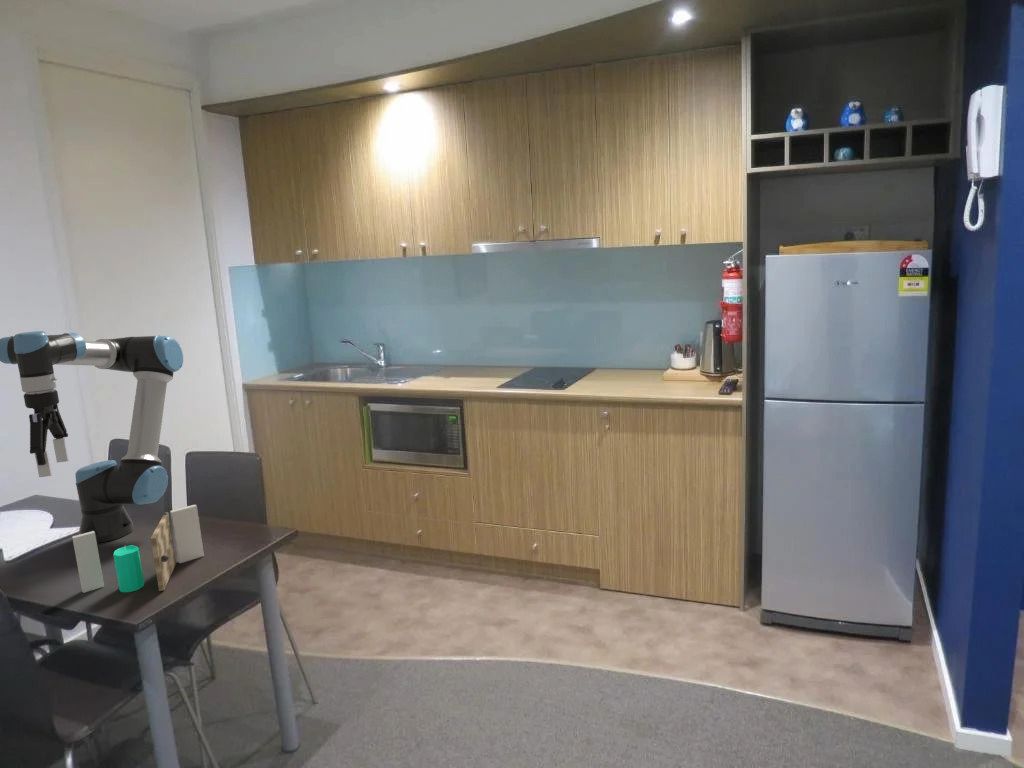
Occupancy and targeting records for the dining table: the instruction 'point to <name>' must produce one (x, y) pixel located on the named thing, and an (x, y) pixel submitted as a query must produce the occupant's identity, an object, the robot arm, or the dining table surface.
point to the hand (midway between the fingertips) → (54, 468)
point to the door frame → (185, 541)
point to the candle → (128, 568)
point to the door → (163, 552)
